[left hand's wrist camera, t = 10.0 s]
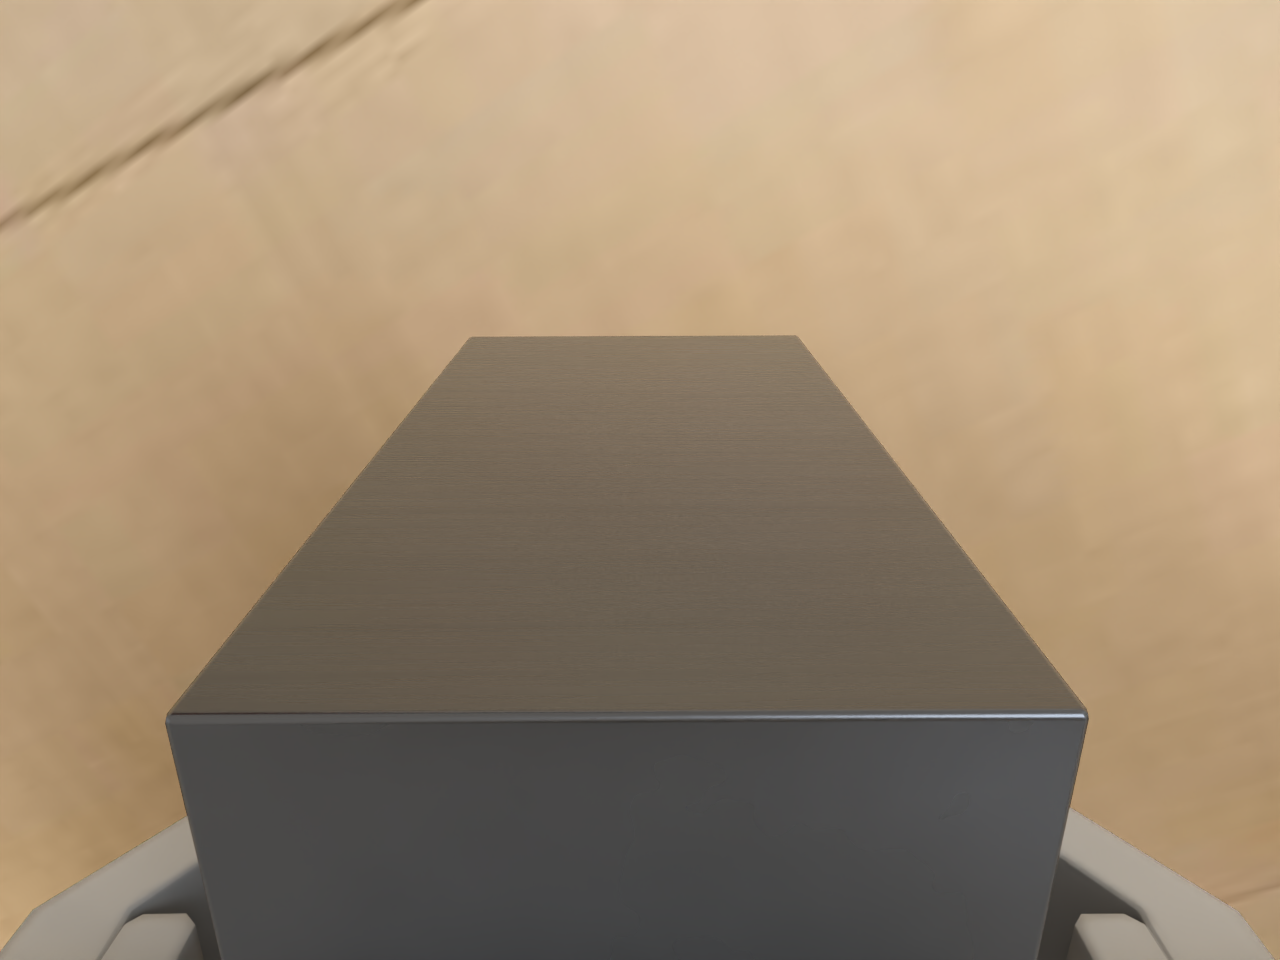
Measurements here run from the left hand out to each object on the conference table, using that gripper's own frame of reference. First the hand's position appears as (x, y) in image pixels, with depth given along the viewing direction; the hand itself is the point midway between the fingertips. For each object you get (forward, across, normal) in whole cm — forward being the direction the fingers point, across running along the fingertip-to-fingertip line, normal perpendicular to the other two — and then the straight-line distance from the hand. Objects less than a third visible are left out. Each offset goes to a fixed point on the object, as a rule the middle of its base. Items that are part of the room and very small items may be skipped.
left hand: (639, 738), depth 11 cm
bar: (+4, 0, -8) cm, 8 cm away
